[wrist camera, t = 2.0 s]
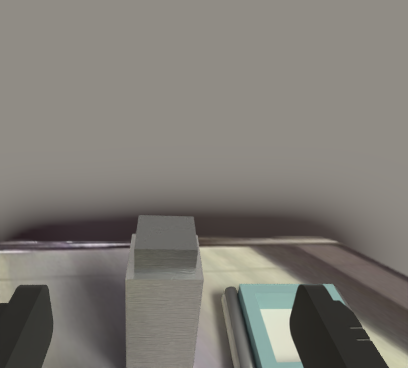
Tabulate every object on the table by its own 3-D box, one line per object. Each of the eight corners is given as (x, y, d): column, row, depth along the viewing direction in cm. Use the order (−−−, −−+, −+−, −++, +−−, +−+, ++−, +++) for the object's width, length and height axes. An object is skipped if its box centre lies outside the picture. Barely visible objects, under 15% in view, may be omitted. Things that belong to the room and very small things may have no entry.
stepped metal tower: (126, 381, 26) (125, 253, 21) (132, 327, 30) (132, 211, 25) (191, 378, 26) (206, 254, 21) (188, 326, 31) (199, 213, 26)
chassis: (243, 417, 24) (249, 390, 23) (221, 301, 34) (224, 278, 33) (397, 409, 26) (411, 384, 24) (333, 300, 35) (341, 278, 34)
